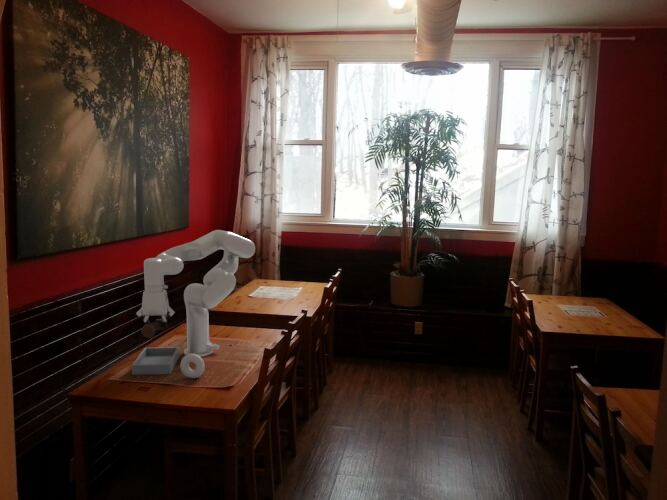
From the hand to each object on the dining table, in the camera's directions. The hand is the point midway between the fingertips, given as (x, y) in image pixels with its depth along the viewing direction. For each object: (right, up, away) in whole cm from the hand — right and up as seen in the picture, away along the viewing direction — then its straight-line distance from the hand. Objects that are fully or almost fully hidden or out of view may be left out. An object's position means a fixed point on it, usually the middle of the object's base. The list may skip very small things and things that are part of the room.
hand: (156, 329), depth 223 cm
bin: (0, -15, +2) cm, 15 cm away
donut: (+18, -18, -11) cm, 27 cm away
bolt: (0, -1, 0) cm, 1 cm away
